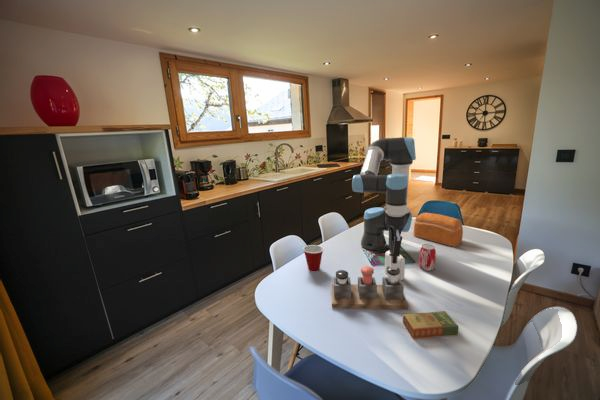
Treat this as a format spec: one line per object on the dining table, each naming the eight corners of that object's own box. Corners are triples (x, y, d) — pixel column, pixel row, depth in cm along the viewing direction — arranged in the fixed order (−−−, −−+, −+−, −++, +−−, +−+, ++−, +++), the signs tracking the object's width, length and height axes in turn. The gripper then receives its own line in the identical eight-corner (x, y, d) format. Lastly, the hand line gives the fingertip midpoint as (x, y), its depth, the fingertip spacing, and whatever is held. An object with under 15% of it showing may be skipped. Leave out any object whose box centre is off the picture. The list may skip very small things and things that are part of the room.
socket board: (331, 307, 108) (331, 290, 106) (331, 287, 122) (331, 272, 120) (407, 309, 105) (409, 291, 103) (399, 289, 118) (399, 273, 116)
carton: (402, 323, 98) (402, 313, 97) (444, 319, 99) (445, 309, 98) (412, 340, 90) (413, 329, 89) (458, 336, 91) (459, 325, 90)
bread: (421, 230, 181) (422, 208, 177) (463, 241, 162) (466, 216, 158) (411, 236, 173) (412, 213, 169) (454, 248, 153) (457, 222, 149)
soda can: (436, 272, 130) (438, 249, 127) (420, 271, 131) (422, 249, 128) (432, 265, 136) (433, 243, 133) (417, 264, 138) (419, 243, 135)
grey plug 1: (334, 289, 116) (334, 271, 113) (345, 288, 117) (345, 269, 114) (338, 296, 111) (338, 277, 108) (350, 294, 112) (350, 275, 109)
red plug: (358, 286, 114) (358, 267, 112) (370, 284, 115) (370, 265, 112) (363, 293, 109) (364, 273, 107) (375, 291, 110) (376, 271, 108)
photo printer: (383, 272, 132) (383, 249, 129) (389, 269, 134) (390, 247, 131) (398, 282, 123) (400, 258, 120) (405, 279, 125) (406, 255, 122)
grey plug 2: (383, 286, 113) (384, 267, 110) (394, 284, 114) (395, 265, 111) (389, 293, 108) (390, 273, 105) (401, 291, 109) (402, 271, 106)
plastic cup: (328, 266, 140) (327, 246, 137) (317, 276, 132) (316, 254, 129) (311, 262, 146) (310, 242, 143) (300, 270, 138) (298, 249, 135)
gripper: (382, 209, 109) (380, 261, 115) (389, 219, 96) (387, 277, 102) (401, 209, 108) (398, 261, 114) (410, 219, 96) (407, 277, 101)
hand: (393, 268), depth 108 cm, fingers closed
